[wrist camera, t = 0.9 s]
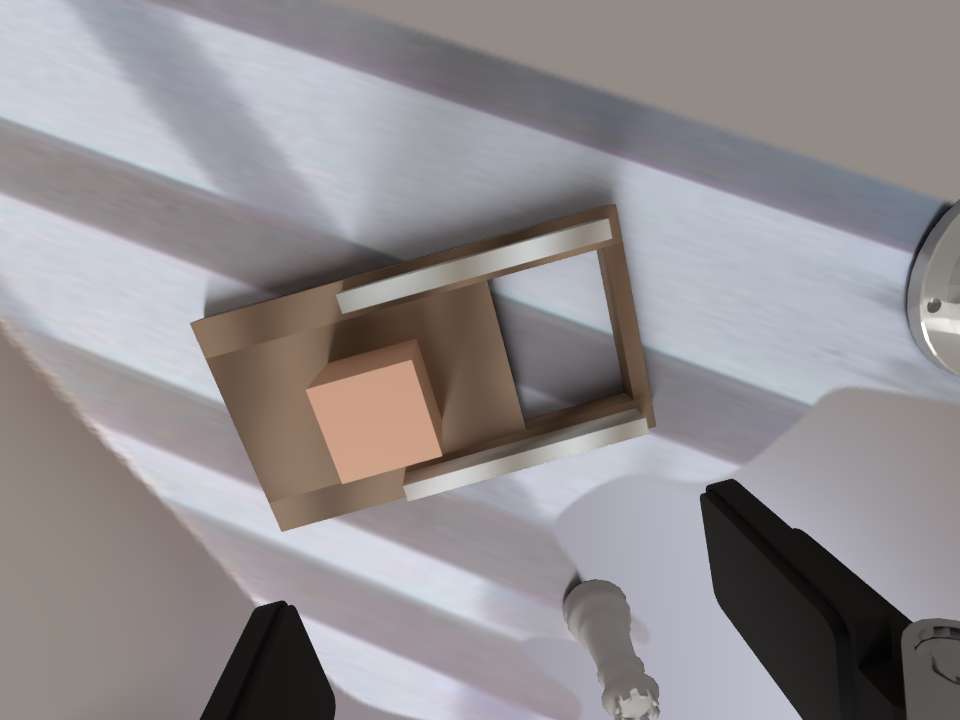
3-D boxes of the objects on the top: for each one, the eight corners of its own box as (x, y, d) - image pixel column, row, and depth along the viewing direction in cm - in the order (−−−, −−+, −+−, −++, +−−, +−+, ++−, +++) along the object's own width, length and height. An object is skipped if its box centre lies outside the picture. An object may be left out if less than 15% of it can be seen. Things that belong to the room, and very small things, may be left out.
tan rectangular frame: (606, 205, 27) (625, 202, 24) (646, 417, 31) (667, 436, 28) (203, 318, 27) (174, 328, 24) (289, 517, 31) (273, 547, 28)
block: (416, 338, 27) (411, 359, 22) (442, 420, 28) (442, 456, 24) (327, 363, 27) (305, 389, 22) (357, 444, 28) (342, 484, 24)
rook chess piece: (572, 638, 35) (610, 755, 27) (552, 589, 33) (585, 697, 26) (632, 615, 35) (687, 727, 27) (614, 566, 33) (666, 667, 26)
